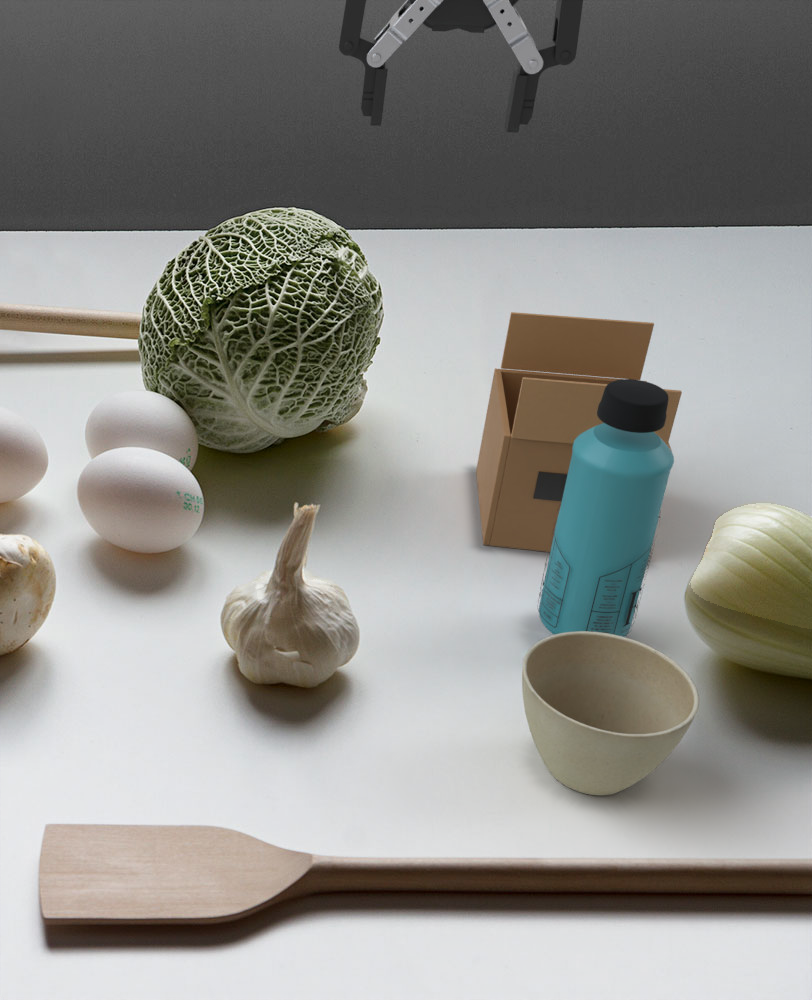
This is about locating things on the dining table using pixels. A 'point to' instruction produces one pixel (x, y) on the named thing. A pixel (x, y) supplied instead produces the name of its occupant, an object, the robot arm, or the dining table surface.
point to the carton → (549, 417)
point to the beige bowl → (604, 708)
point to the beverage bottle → (608, 514)
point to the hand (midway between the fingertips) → (443, 126)
